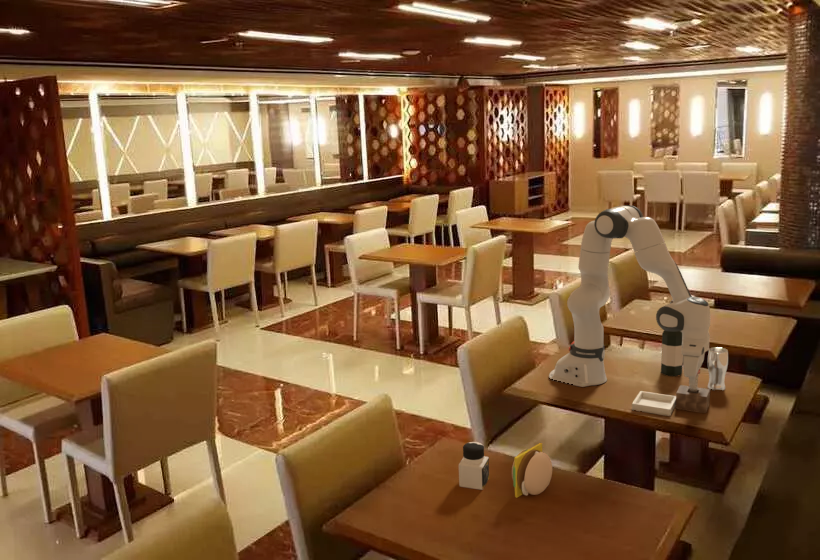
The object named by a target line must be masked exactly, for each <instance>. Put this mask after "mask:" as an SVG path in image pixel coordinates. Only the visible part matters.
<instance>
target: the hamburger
mask: <svg viewBox="0 0 820 560" xmlns="http://www.w3.org/2000/svg"><path fill="white" fill-rule="evenodd" d="M552 475H553V464H552V460H551V457H550V456H549V455H548V454H547V453H545V452H543V443H542V442H540V443H537V444H535V445H534V446H532V447H530V448H525V449H522V450H521V451H519V453H518V454H517V455H516V456H514V461H513V463H512V467H511V479H512V481H513V482H512V484H513V487H514V497H515V498H519V497H521V496H522V495H524V496H527V497H528V495H529V494H530V495H533V496H534V495H535V496H537V495H539V494H542V493H543V492H544V491H545V490H546V489H547V487H548V486H549V485H550V482H551V479H552Z"/></svg>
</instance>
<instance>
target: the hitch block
mask: <svg viewBox="0 0 820 560" xmlns="http://www.w3.org/2000/svg"><path fill="white" fill-rule="evenodd" d="M689 386H690V385H689ZM689 386H688V385H683V384H680V385H679V386H678V389H677V391H676V393H675V394H676V395H675V396H676V406H675V409H677V410H681V411H682V410H683V411H687V412H688V411H689V412H696V413H702V414H706V413H708V409H709V406H710V399H711V398H710V397H711V395H710V394H711V389H709V388H705V387H704V388H703V387H699V386H697V393H691V392H689Z"/></svg>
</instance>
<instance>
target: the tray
mask: <svg viewBox="0 0 820 560" xmlns="http://www.w3.org/2000/svg"><path fill="white" fill-rule="evenodd" d="M674 409H676V395H670V394H663V393H657V392H651V391H643V390H640V391H639V392H638V394H637V395H636V396H635V398H634V400H633V401H632V403H631V411H634V410H636V411H635V412H640V411H642V412H641V413H648V414H654V415H659V416H666V417H671V416H672V413H673V411H674Z"/></svg>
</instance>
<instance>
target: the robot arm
mask: <svg viewBox="0 0 820 560" xmlns="http://www.w3.org/2000/svg"><path fill="white" fill-rule="evenodd" d="M623 238H627V239H628V240H629V241H630V244H631V246H632V250H633V253H634V256H635V259H636V261H637V263H638V265H639V267H640V268H642V270H644V271H645V272H648V273H650V274H651V273H652V274H655V275H658V276H659V277H661V278H662V279H663V280H664V282H665V284H666V287H667V288H668V289H667V290H668V291H669V294H670V296H671V298H672V300H673V303H670V302H669V303H667V304H665V305H663V306H661V307H659V308H658V310H657V311H656V315H655V320H656V323H657V325H658V326H659V328H660V329H662V330H663V331H664V330H665V331H671V332H678V331H680V332H682V354H683V366H682V370H683V375H684V377H685V378H688V385H689V386H690V385H694V384H695V377H696V375H697V373H698V371H699V369H700V370H701V367H702V365H703V363H704V360H705V354H706V352H709V349H710V332H709V330H710V326H711V308H710V304H709V302H708V301H707V300H706V299H704V298H701V297H698V296H692V293H690V291H689V288H688V285H687V283H686V282H685V279H684V276H683V274H682V273H681V271H680V268H679V266H678V264H677V263H676V261H675V260H674V259H673V257H672V256H671V254H670V251H669V250H668V246H667V244H666V241H665V239H664V236H663V234H662V232H661V229H660V227H659V225H658V224H657V222H656V220H655V219H654V218H652V217H649V216H644V214H643V212H642V211H641V209H639V208H638V207H636V206H634V205H629V204H627V205H626V204H625V205H617V206H614V207H612V208H606V209H605V210H602V211H601V212H599V213H598V214H597V216H595V219H594V220H592V221H589V222H588V223H587V224H586V225H585V228H584V231H583V235H582V238H581V242H580V249H579V250H580V252H579V257H578V258H579V259H578V269H579V273H580V280H581V281H580V286H579V287H577V288H575V289H574V290H573V291H572V292H571V293H570V295H569V297H568V298H567V303H566V304H567V308H568V310H569V312H570V313H571V316H572V320H573V326H574V336H573V337H574V340H573V341H572V342H571V343H570V345H569V347H568V351H569V352H568V353H566V354H565V355H563V356H562V357H561V358H559V359H558V360H557V361H556V364H555V366H554V369H553V370H551V371H550V372H549V374H548V379H549V378H550V379H553V380H552V381H554V380H557V381H556V382H558V381H561V382H560V383H563V382H565V383H564V384H567V383H569V384H568V385H571V384H573V385H572V386H576V387H582V388H584V387H589V386H597V385H602V384H604V383H606V382H607V380H608V377H607V374H606V370H605V364H604V363H605V362H604V360H605V355H606V354H605V345H604V325H603V324H602V321H601V317H600V309H601V308H602V307H603V306H605V305H606V303H607V302H608V300H609V299H610V296H611V288H610V286H609V265H610V256H611V251H612V250H611V248H612V242H613V239H623ZM550 379H549V380H550Z"/></svg>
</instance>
